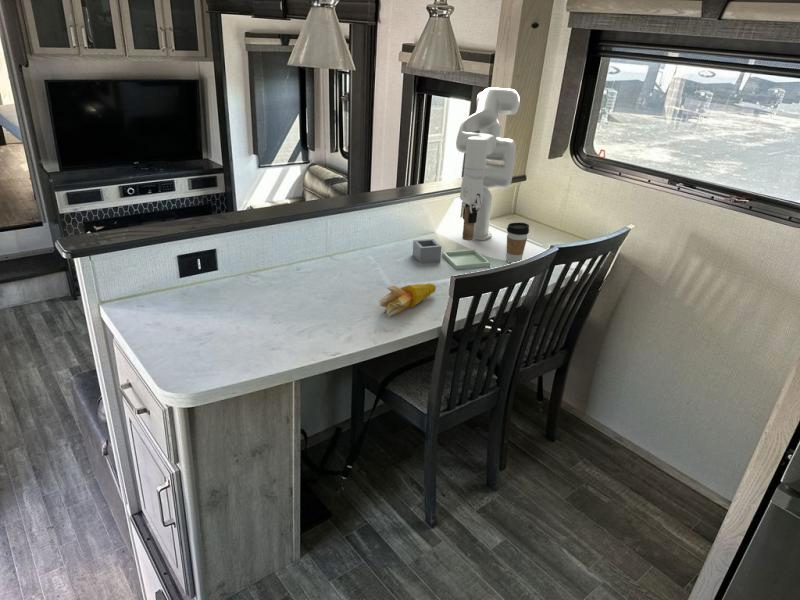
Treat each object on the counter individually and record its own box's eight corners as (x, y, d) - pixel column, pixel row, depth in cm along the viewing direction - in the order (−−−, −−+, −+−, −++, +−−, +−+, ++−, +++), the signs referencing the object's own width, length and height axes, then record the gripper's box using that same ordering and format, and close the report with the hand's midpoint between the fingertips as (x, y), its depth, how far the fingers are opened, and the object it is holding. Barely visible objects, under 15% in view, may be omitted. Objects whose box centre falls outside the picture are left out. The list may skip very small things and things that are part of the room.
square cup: (412, 257, 227) (413, 240, 224) (432, 255, 229) (433, 238, 226) (419, 265, 220) (420, 248, 217) (440, 263, 222) (441, 246, 219)
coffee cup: (526, 265, 224) (531, 228, 217) (504, 264, 224) (509, 227, 217) (522, 257, 232) (527, 221, 225) (501, 256, 232) (506, 220, 225)
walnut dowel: (460, 237, 220) (463, 206, 215) (470, 236, 221) (473, 206, 216) (464, 240, 216) (467, 210, 211) (474, 240, 218) (477, 209, 212)
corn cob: (433, 306, 198) (384, 322, 179) (419, 289, 200) (369, 303, 182) (445, 290, 193) (396, 304, 174) (430, 273, 195) (381, 286, 177)
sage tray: (441, 257, 227) (442, 251, 226) (474, 255, 232) (474, 249, 230) (455, 271, 216) (456, 265, 214) (489, 268, 220) (490, 262, 219)
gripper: (455, 167, 214) (451, 214, 222) (474, 178, 200) (469, 228, 207) (474, 166, 216) (469, 213, 224) (494, 177, 202) (488, 227, 210)
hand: (469, 220), depth 216 cm, fingers closed on walnut dowel, 4 cm apart
